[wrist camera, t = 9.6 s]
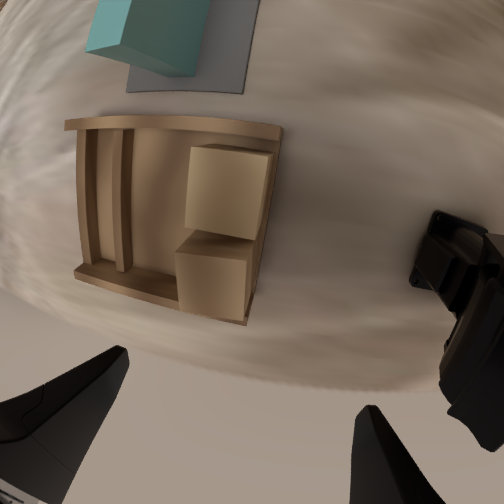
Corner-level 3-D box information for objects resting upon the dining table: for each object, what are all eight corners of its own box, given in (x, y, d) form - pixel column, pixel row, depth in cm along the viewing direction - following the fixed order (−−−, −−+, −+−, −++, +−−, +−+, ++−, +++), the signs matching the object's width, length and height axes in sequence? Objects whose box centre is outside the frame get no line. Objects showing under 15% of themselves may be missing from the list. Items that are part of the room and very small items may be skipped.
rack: (283, 128, 16) (280, 126, 13) (254, 295, 22) (246, 326, 18) (97, 118, 18) (65, 120, 14) (100, 258, 23) (75, 278, 19)
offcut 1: (273, 152, 16) (268, 156, 13) (262, 218, 18) (254, 240, 15) (212, 143, 17) (191, 146, 13) (205, 208, 19) (184, 227, 15)
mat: (267, -36, 11) (266, -38, 10) (242, 94, 16) (241, 93, 15) (158, -27, 11) (156, -29, 11) (128, 92, 16) (125, 92, 16)
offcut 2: (258, 228, 19) (246, 260, 14) (254, 279, 20) (243, 321, 16) (202, 223, 19) (174, 252, 15) (202, 272, 21) (179, 310, 16)
